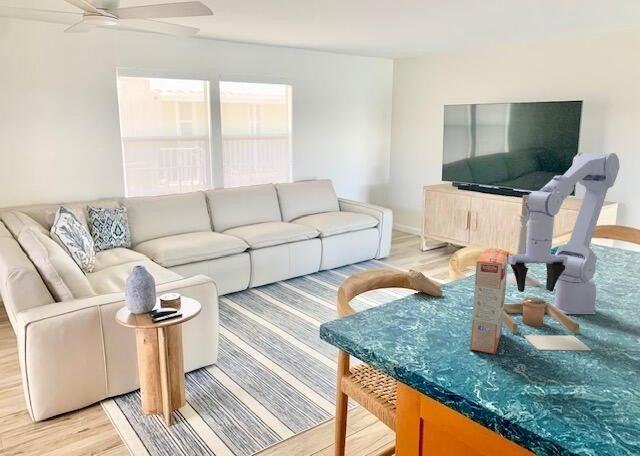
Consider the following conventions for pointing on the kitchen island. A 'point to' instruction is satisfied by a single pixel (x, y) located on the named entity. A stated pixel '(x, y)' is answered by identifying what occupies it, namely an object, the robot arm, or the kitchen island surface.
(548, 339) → the potting tile
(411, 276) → the pottery oil lamp
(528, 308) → the terracotta pot
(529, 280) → the candlestick
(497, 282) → the cracker box
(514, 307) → the wooden u-shaped frame
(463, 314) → the kitchen island surface
